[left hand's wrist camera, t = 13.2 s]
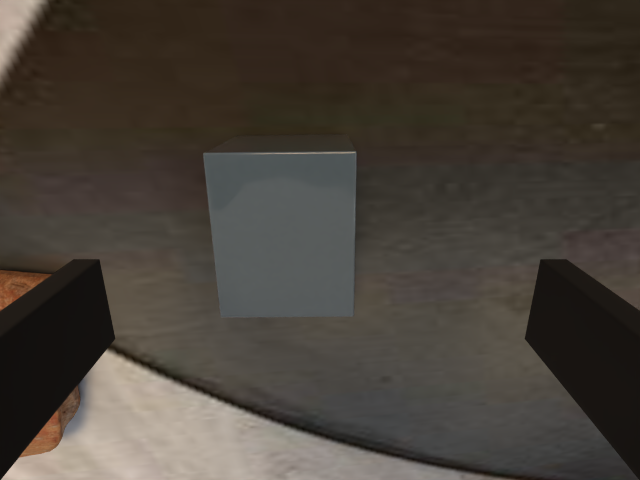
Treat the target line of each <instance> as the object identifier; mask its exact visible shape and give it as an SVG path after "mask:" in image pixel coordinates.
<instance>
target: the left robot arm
mask: <svg viewBox="0 0 640 480" xmlns="http://www.w3.org/2000/svg"><path fill="white" fill-rule="evenodd" d="M114 340H115V335H114V330H113V325H112V320H111V315H110V310H109V305H108V300H107V295H106V290H105V285H104V280H103V275H102V270H101V265H100V260H99V259H74V260H72V261H71V262H69V263H68V264H66V265H65V266H64V267H62V268H61V269H59V270H58V271H56V272H55V273H54V274H52V275H51V276H49V277H48V278H46V279H45V280H44V281H42V282H41V283H39V284H38V285H36V286H35V287H34V288H32V289H31V290H29V291H28V292H26V293H25V294H24V295H22V296H21V297H19V298H18V299H16V300H15V301H14V302H12V303H11V304H9V305H8V306H7V307H5V308H4V309H2V310H1V311H0V480H1V479H2V477H3V476H4V475H5V474H6V473H7V471H8V470H9V469H10V468H11V466H12V465H13V464H14V463H15V461H16V460H17V459H18V458H19V457H20V455H21V454H22V453H23V452H24V450H25V449H26V448H27V447H28V445H29V444H30V443H31V442H32V441H33V439H34V438H35V437H36V436H37V434H38V433H39V432H40V431H41V429H42V428H43V427H44V426H45V425H46V423H47V422H48V421H49V420H50V418H51V417H52V416H53V415H54V413H55V412H56V411H57V410H58V409H59V407H60V406H61V405H62V404H63V402H64V401H65V400H66V399H67V397H68V396H69V395H70V394H71V393H72V391H73V390H74V389H75V388H76V386H77V385H78V384H79V383H80V381H81V380H82V379H83V378H84V377H85V375H86V374H87V373H88V372H89V370H90V369H91V368H92V367H93V365H94V364H95V363H96V362H97V361H98V359H99V358H100V357H101V356H102V354H103V353H104V352H105V351H106V349H107V348H108V347H109V346H110V345H111V343H112V342H113V341H114ZM525 340H526V341H527V342H528V343H529V345H530V346H531V347H532V348H533V349H534V351H535V352H536V353H537V354H538V356H539V357H540V358H541V359H542V361H543V362H544V363H545V364H546V365H547V367H548V368H549V369H550V370H551V372H552V373H553V374H554V375H555V377H556V378H557V379H558V380H559V381H560V383H561V384H562V385H563V386H564V388H565V389H566V390H567V391H568V393H569V394H570V395H571V396H572V397H573V399H574V400H575V401H576V402H577V404H578V405H579V406H580V407H581V409H582V410H583V411H584V412H585V413H586V415H587V416H588V417H589V418H590V420H591V421H592V422H593V423H594V425H595V426H596V427H597V428H598V429H599V431H600V432H601V433H602V434H603V436H604V437H605V438H606V439H607V441H608V442H609V443H610V444H611V445H612V447H613V448H614V449H615V450H616V452H617V453H618V454H619V455H620V457H621V458H622V459H623V460H624V461H625V463H626V464H627V465H628V466H629V468H630V469H631V470H632V471H633V473H634V474H635V475H636V476H637V477H638V479H639V480H640V311H639V310H638V309H636V308H635V307H633V306H632V305H631V304H629V303H628V302H626V301H625V300H624V299H622V298H621V297H619V296H618V295H616V294H615V293H614V292H612V291H611V290H609V289H608V288H606V287H605V286H604V285H602V284H601V283H599V282H598V281H596V280H595V279H594V278H592V277H591V276H589V275H588V274H586V273H585V272H584V271H582V270H581V269H579V268H578V267H576V266H575V265H574V264H572V263H571V262H569V261H568V260H566V259H541V260H540V265H539V270H538V275H537V280H536V285H535V290H534V295H533V300H532V305H531V310H530V315H529V320H528V325H527V330H526V335H525Z"/></svg>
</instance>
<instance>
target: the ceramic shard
mask: <svg viewBox="0 0 640 480" xmlns="http://www.w3.org/2000/svg"><path fill="white" fill-rule="evenodd" d="M51 275H52V274H41V273H29V272H19V271H6V270H0V311H1V310H2V309H4V308H5V307H7V306H8V305H9V304H11V303H12V302H14V301H15V300H16V299H18V298H19V297H21V296H22V295H24V294H25V293H26V292H28V291H29V290H31V289H32V288H34V287H35V286H36V285H38V284H39V283H41V282H42V281H44V280H45V279H46V278H48V277H49V276H51ZM79 404H80V396H79V390H78V385H77V386H76V388H75V389H74V390H73V391H72V393H71V394H70V395H69V396H68V397H67V399H66V400H65V401H64V402H63V404H62V405H61V406H60V407H59V409H58V410H57V411H56V412H55V413H54V415H53V416H52V417H51V418H50V420H49V421H48V422H47V423H46V425H45V426H44V427H43V428H42V429H41V431H40V432H39V433H38V434H37V436H36V437H35V438H34V439H33V441H32V442H31V443H30V444H29V445H28V447H27V448H26V449H25V450H24V452H23V453H22V454H21V455H20V457H24V456H29V455H35V454H41V453H45V452H49V451H51V450H53V449H54V448H56V447H57V445H58V444H59V443H60V441H61V439H62V436H63V433H64V429H65V427H66V425H67V424H68V422H69V421H70V420H71V419H72V418H73V417H74V415H75V413H76V411H77V410H78V407H79Z"/></svg>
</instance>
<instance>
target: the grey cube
mask: <svg viewBox="0 0 640 480" xmlns="http://www.w3.org/2000/svg"><path fill="white" fill-rule="evenodd" d="M203 159H204V169H205V178H206V187H207V197H208V206H209V215H210V224H211V234H212V243H213V252H214V262H215V271H216V280H217V290H218V299H219V308H220V316H221V317H353V316H354V289H355V230H356V171H357V152H356V150H355V148H354V146H353V144H352V142H351V141H350V139H349V137H348V135H347V134H332V135H251V136H236V137H234V138H232V139H230V140H228V141H226V142H224V143H222V144H220V145H218V146H216V147H215V148H213V149H211V150H209V151H207V152H205V153H203Z"/></svg>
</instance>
